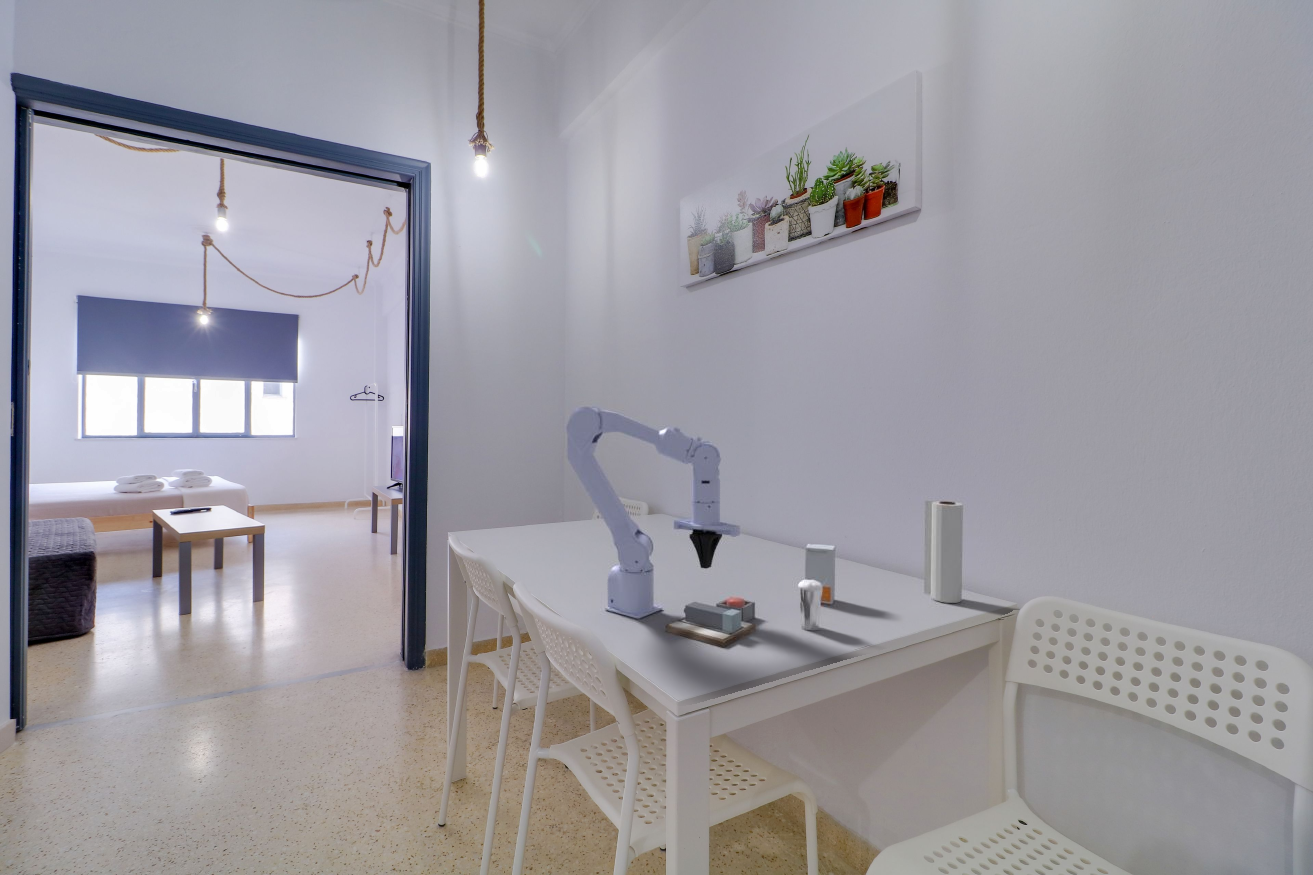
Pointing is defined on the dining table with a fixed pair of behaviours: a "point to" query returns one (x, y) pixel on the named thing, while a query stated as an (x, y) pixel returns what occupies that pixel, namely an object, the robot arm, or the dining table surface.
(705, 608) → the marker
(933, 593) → the paper towel roll
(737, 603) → the button
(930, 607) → the dining table surface
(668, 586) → the dining table surface
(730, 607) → the button housing
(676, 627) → the brown flat wooden board
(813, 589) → the milkshake
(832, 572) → the skincare box
